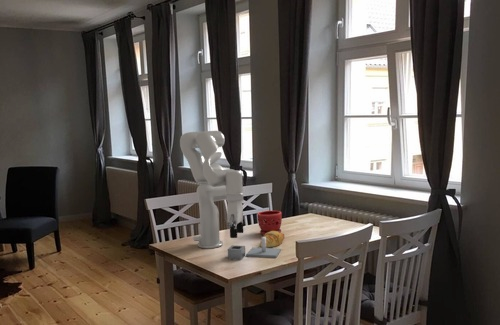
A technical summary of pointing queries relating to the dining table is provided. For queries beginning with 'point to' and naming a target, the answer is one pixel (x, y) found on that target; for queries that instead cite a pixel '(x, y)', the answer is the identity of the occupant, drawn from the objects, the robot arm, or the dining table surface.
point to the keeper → (263, 250)
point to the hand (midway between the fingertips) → (236, 235)
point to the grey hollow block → (236, 252)
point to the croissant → (273, 238)
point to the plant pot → (269, 221)
